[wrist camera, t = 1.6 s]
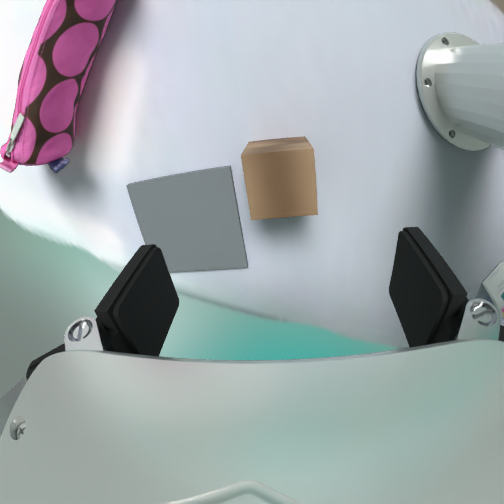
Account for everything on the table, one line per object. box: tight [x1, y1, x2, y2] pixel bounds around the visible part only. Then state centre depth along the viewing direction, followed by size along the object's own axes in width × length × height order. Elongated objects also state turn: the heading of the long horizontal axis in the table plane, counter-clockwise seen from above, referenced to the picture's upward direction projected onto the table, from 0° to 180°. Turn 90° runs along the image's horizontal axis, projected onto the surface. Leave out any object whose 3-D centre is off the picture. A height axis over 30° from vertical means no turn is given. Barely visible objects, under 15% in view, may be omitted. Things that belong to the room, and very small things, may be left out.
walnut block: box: [241, 137, 318, 220], centre depth 22 cm, size 5×5×6 cm
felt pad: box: [126, 166, 248, 272], centre depth 28 cm, size 11×11×1 cm
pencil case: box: [0, 0, 117, 173], centre depth 14 cm, size 21×10×10 cm, turn 159°
